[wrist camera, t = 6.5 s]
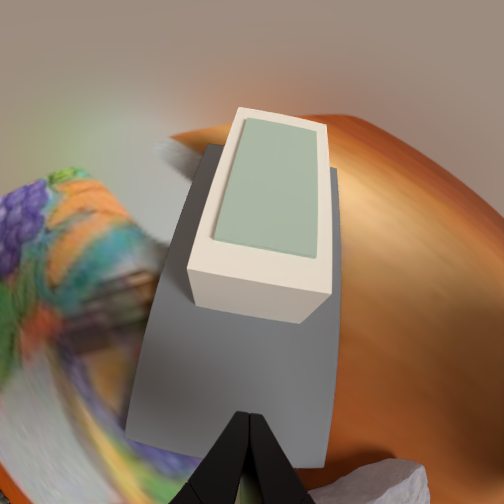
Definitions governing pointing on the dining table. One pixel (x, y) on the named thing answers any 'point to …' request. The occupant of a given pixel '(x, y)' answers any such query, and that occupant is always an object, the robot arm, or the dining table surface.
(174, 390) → the mat
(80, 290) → the dining table surface
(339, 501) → the stone block
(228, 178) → the tall block
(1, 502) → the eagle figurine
